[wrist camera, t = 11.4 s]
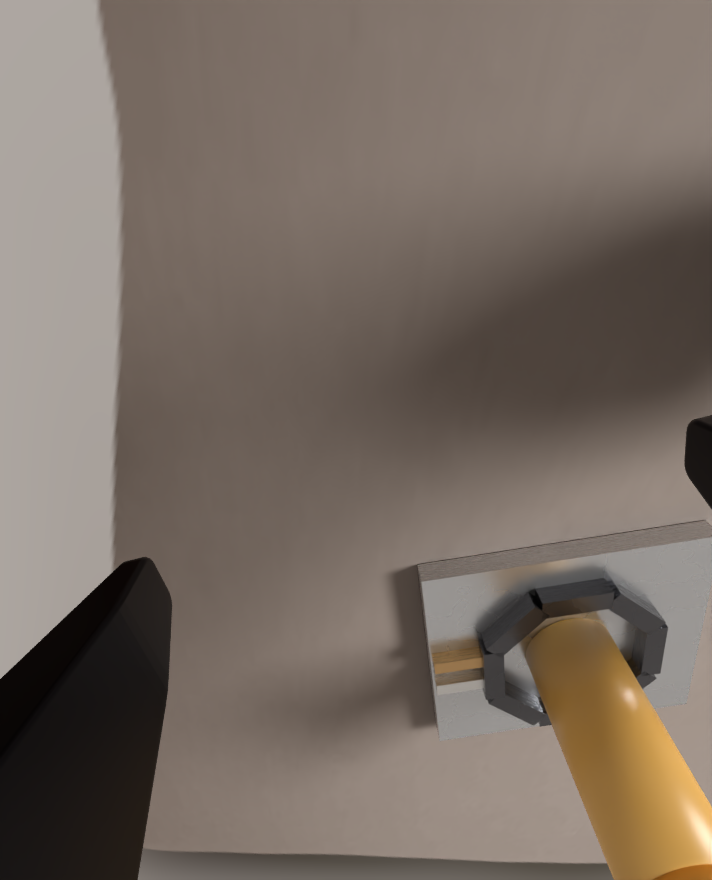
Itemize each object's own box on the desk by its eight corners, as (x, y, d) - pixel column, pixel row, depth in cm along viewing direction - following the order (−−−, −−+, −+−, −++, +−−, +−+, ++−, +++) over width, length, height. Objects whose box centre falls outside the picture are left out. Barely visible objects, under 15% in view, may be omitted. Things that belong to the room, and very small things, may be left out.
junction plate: (705, 520, 27) (735, 549, 25) (674, 685, 33) (696, 720, 31) (417, 564, 27) (424, 597, 25) (435, 721, 33) (443, 757, 31)
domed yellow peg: (623, 620, 28) (807, 911, 18) (593, 679, 30) (742, 971, 20) (540, 615, 28) (679, 913, 17) (515, 676, 30) (626, 974, 19)
